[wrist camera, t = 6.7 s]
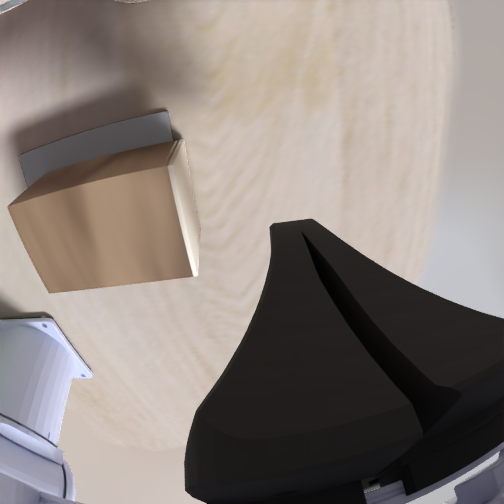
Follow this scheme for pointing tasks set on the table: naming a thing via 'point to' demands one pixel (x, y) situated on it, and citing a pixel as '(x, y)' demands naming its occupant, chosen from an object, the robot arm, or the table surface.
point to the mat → (96, 144)
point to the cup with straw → (8, 0)
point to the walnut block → (112, 220)
